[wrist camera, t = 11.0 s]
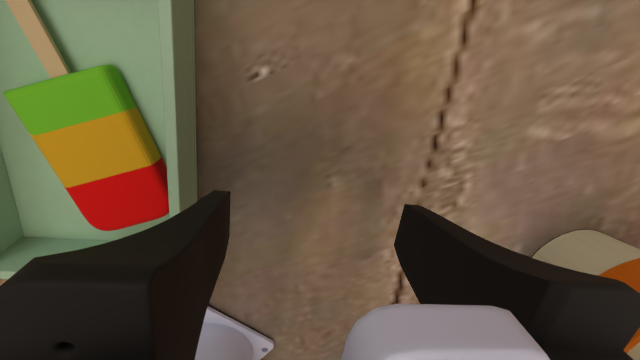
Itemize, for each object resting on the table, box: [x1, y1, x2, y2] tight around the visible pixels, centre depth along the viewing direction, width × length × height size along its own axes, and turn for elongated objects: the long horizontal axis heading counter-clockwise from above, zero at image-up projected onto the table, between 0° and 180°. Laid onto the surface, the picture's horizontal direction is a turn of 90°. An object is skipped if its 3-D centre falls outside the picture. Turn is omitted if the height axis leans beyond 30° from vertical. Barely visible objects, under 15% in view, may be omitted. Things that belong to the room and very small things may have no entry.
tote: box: [0, 0, 197, 279], centre depth 17 cm, size 20×12×4 cm, turn 172°
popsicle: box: [3, 0, 169, 231], centre depth 18 cm, size 6×15×2 cm, turn 14°
